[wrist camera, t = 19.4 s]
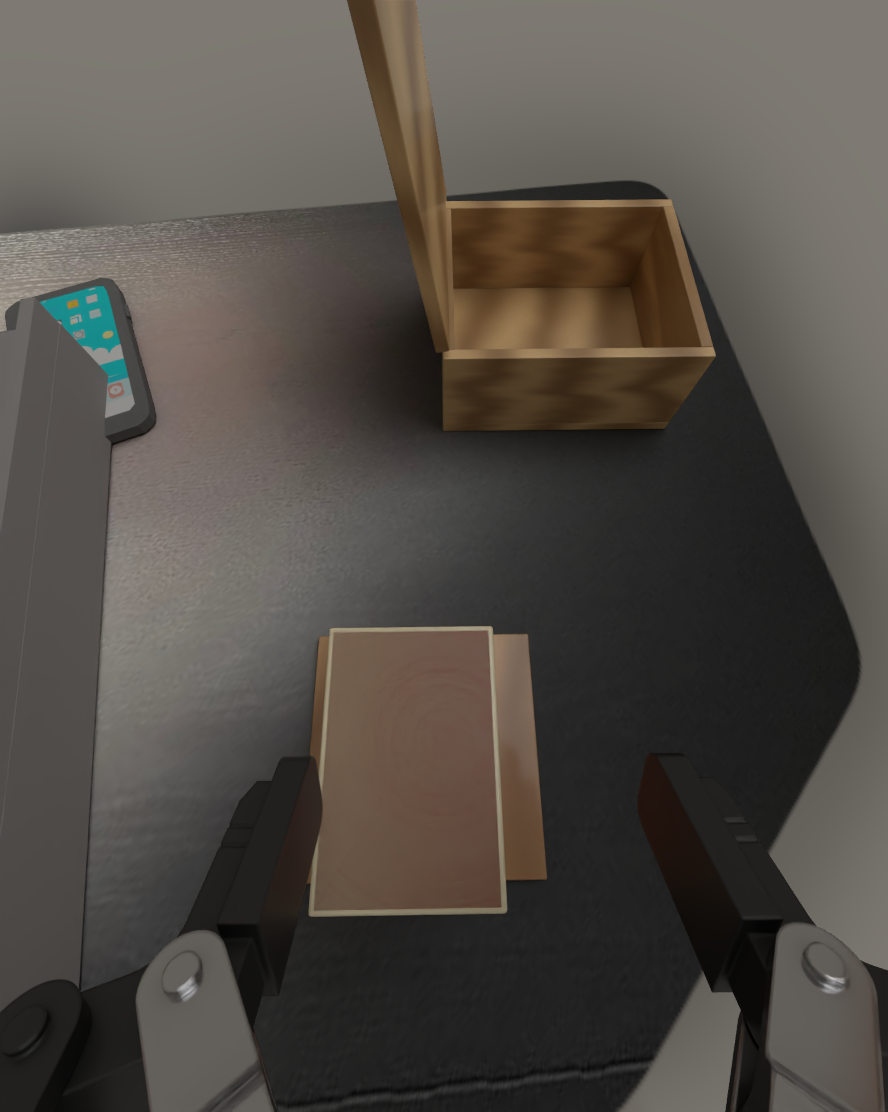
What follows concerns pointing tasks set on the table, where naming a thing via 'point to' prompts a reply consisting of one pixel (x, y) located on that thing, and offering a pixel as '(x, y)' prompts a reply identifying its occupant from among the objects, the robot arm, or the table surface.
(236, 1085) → the robot arm
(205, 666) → the table surface
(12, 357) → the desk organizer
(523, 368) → the chest
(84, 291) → the smartphone
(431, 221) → the chest lid
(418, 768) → the biscuit tin
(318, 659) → the wooden square board
